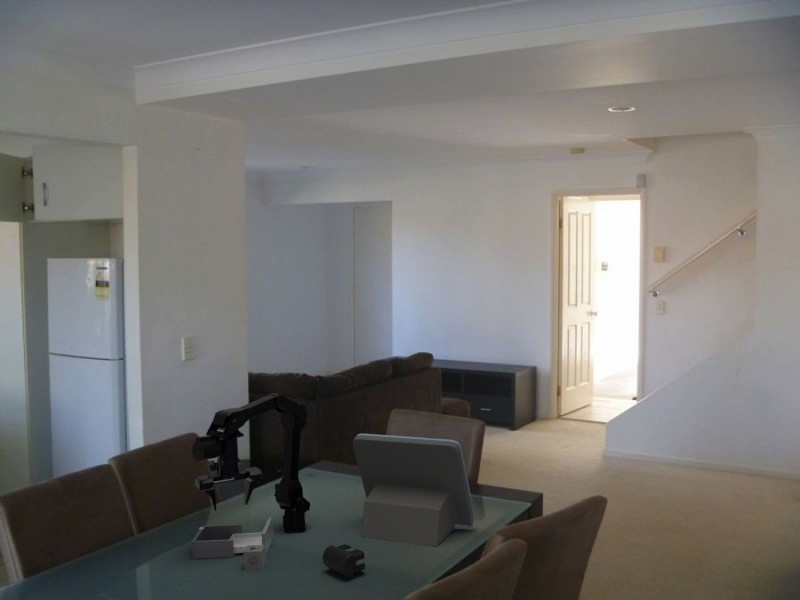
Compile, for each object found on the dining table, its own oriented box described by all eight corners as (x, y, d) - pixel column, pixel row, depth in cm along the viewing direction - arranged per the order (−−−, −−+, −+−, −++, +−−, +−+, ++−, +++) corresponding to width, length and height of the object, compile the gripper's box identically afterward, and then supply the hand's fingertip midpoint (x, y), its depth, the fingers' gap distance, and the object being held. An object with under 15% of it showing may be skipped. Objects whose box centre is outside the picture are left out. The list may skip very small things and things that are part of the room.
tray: (272, 538, 242) (272, 517, 242) (266, 555, 228) (265, 533, 228) (233, 540, 242) (232, 519, 241) (224, 557, 228) (223, 535, 227)
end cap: (322, 572, 215) (321, 547, 215) (344, 565, 220) (343, 540, 219) (344, 582, 207) (343, 557, 207) (366, 575, 212) (365, 550, 212)
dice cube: (248, 563, 224) (247, 545, 223) (266, 562, 223) (265, 544, 223) (244, 569, 219) (243, 551, 218) (262, 569, 218) (261, 551, 218)
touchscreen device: (476, 527, 246) (472, 431, 243) (452, 551, 228) (448, 448, 226) (375, 515, 261) (370, 425, 259) (346, 537, 243) (340, 440, 241)
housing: (242, 540, 242) (241, 523, 242) (233, 557, 228) (232, 539, 228) (202, 542, 242) (201, 524, 241) (190, 559, 228) (189, 541, 227)
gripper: (250, 444, 242) (252, 495, 243) (188, 453, 233) (191, 506, 234) (262, 451, 233) (264, 504, 233) (198, 461, 224) (201, 516, 224)
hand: (230, 507), depth 232 cm, fingers open, 9 cm apart
